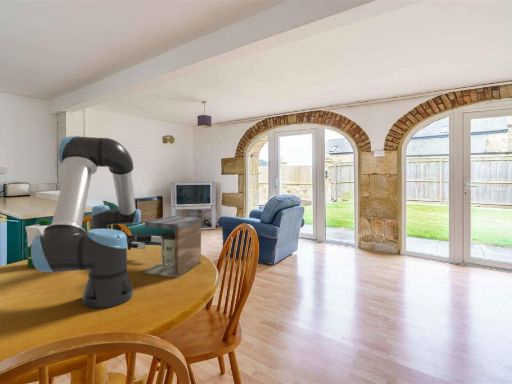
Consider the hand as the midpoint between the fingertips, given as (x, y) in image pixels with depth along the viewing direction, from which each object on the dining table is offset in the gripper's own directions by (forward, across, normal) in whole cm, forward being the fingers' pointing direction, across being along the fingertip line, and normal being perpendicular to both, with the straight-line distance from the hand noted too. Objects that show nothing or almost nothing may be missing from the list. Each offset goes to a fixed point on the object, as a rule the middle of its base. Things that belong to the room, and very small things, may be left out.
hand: (154, 242), depth 131 cm
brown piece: (+11, 0, -10) cm, 15 cm away
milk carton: (-47, +18, -11) cm, 51 cm away
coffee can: (+10, 0, -10) cm, 14 cm away
